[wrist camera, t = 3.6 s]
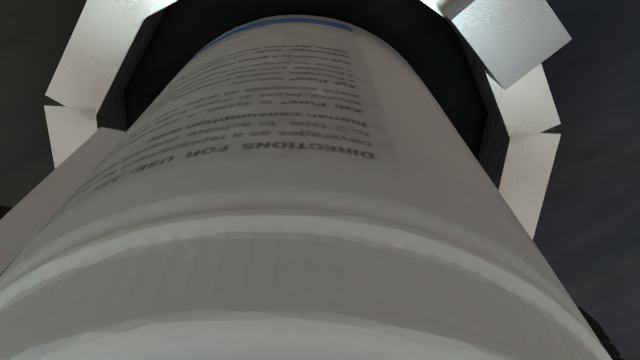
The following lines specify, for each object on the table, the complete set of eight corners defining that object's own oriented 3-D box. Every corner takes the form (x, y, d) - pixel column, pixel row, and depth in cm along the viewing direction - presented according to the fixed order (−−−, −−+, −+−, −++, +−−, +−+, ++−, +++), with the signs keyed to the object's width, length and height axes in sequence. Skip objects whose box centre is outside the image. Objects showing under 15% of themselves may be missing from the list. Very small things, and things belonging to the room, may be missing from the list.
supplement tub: (133, 201, 20) (-236, 741, 7) (225, -47, 16) (-193, 81, 3) (362, 292, 22) (424, 863, 9) (493, 87, 18) (957, 536, 5)
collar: (442, -217, 14) (482, -264, 11) (589, 225, 20) (646, 290, 17) (-24, 56, 18) (-112, 90, 14) (220, 369, 24) (202, 449, 20)
